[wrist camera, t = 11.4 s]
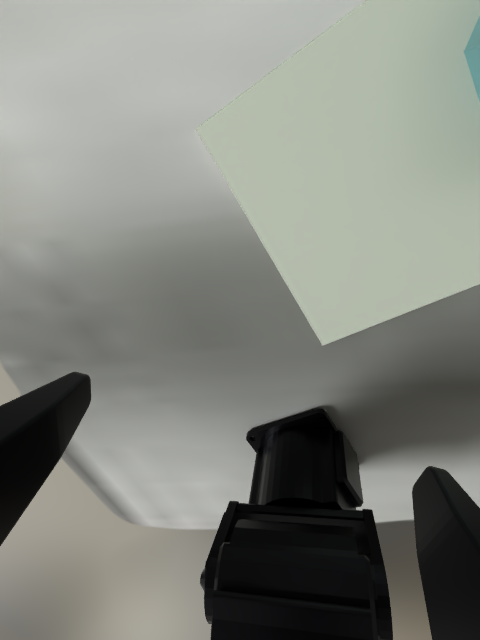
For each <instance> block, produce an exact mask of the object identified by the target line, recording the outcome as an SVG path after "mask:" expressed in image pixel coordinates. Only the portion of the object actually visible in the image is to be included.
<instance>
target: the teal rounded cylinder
mask: <svg viewBox="0 0 480 640" xmlns="http://www.w3.org/2000/svg"><path fill="white" fill-rule="evenodd" d="M463 53H464V54H465V57H466V60H467V63H468V67H469V70H470V73H471V76H472V79H473V83H474V86H475V89H476V92H477V95H478V99H479V102H480V16H479V18H478V20H477V23H476V25H475V27H474V30H473V32H472V34H471V36H470V39H469V41H468V43H467V46H466V48H465V50H464V52H463Z"/></svg>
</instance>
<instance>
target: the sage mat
mask: <svg viewBox="0 0 480 640" xmlns="http://www.w3.org/2000/svg"><path fill="white" fill-rule="evenodd" d="M479 16H480V0H366V1H365V2H364V3H362V4H361V5H360V6H358V7H357V8H356V9H354V10H353V11H352V12H350V13H349V14H348V15H346V16H345V17H344V18H342V19H341V20H340V21H338V22H337V23H336V24H334V25H333V26H332V27H330V28H329V29H328V30H326V31H325V32H324V33H322V34H321V35H320V36H318V37H317V38H316V39H315V40H313V41H312V42H311V43H309V44H308V45H307V46H305V47H304V48H303V49H301V50H300V51H299V52H297V53H296V54H295V55H293V56H292V57H291V58H289V59H288V60H287V61H285V62H284V63H283V64H281V65H280V66H279V67H277V68H276V69H275V70H273V71H272V72H271V73H269V74H268V75H267V76H265V77H264V78H263V79H261V80H260V81H259V82H258V83H256V84H255V85H254V86H252V87H251V88H250V89H248V90H247V91H246V92H244V93H243V94H242V95H240V96H239V97H238V98H236V99H235V100H234V101H232V102H231V103H230V104H228V105H227V106H226V107H224V108H223V109H222V110H220V111H219V112H218V113H216V114H215V115H214V116H212V117H211V118H210V119H208V120H207V121H206V122H204V123H203V124H202V125H201V126H199V127H198V128H197V129H195V130H196V131H197V133H198V135H199V136H200V138H201V140H202V141H203V143H204V145H205V147H206V148H207V150H208V152H209V153H210V155H211V157H212V158H213V160H214V162H215V164H216V165H217V167H218V169H219V170H220V172H221V174H222V175H223V177H224V179H225V181H226V182H227V184H228V186H229V187H230V189H231V191H232V192H233V194H234V196H235V198H236V199H237V201H238V203H239V204H240V206H241V208H242V209H243V211H244V213H245V215H246V216H247V218H248V220H249V221H250V223H251V225H252V226H253V228H254V230H255V232H256V233H257V235H258V237H259V238H260V240H261V242H262V243H263V245H264V247H265V249H266V250H267V252H268V254H269V255H270V257H271V259H272V260H273V262H274V264H275V266H276V267H277V269H278V271H279V272H280V274H281V276H282V277H283V279H284V281H285V283H286V284H287V286H288V288H289V289H290V291H291V293H292V294H293V296H294V298H295V300H296V301H297V303H298V305H299V306H300V308H301V310H302V311H303V313H304V315H305V317H306V318H307V320H308V322H309V323H310V325H311V327H312V328H313V330H314V332H315V334H316V335H317V337H318V339H319V340H320V342H321V344H322V345H325V344H328V343H330V342H333V341H336V340H338V339H341V338H343V337H346V336H348V335H351V334H353V333H356V332H358V331H361V330H364V329H366V328H369V327H371V326H374V325H376V324H379V323H381V322H384V321H386V320H389V319H392V318H394V317H397V316H399V315H402V314H404V313H407V312H409V311H412V310H414V309H417V308H420V307H422V306H425V305H427V304H430V303H432V302H435V301H437V300H440V299H442V298H445V297H448V296H450V295H453V294H455V293H458V292H460V291H463V290H465V289H468V288H470V287H473V286H476V285H478V284H480V102H479V99H478V95H477V92H476V89H475V86H474V83H473V79H472V76H471V73H470V70H469V67H468V63H467V60H466V57H465V54H464V53H463V52H464V50H465V48H466V46H467V43H468V41H469V39H470V36H471V34H472V32H473V30H474V27H475V25H476V23H477V20H478V18H479Z"/></svg>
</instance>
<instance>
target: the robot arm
mask: <svg viewBox="0 0 480 640" xmlns="http://www.w3.org/2000/svg"><path fill="white" fill-rule="evenodd" d="M90 401H91V381H90V377H89V376H88V375H86V374H82V373H79V372H72V373H70V374H67V375H65V376H63V377H61V378H59V379H57V380H55V381H53V382H50V383H48V384H46V385H44V386H42V387H40V388H38V389H35V390H33V391H31V392H29V393H27V394H25V395H23V396H20V397H18V398H16V399H14V400H12V401H10V402H8V403H5V404H3V405H1V406H0V546H1V544H2V543H3V542H4V540H5V539H6V537H7V536H8V534H9V533H10V531H11V530H12V528H13V527H14V525H15V524H16V523H17V521H18V520H19V518H20V517H21V515H22V514H23V512H24V511H25V509H26V508H27V507H28V505H29V504H30V502H31V501H32V499H33V498H34V496H35V495H36V493H37V492H38V490H39V489H40V488H41V486H42V485H43V483H44V482H45V480H46V479H47V477H48V476H49V474H50V473H51V471H52V470H53V469H54V467H55V465H56V464H57V462H58V461H59V460H60V458H61V456H62V455H63V453H64V451H65V449H66V448H67V446H68V444H69V442H70V440H71V438H72V436H73V435H74V433H75V431H76V429H77V427H78V425H79V423H80V422H81V420H82V418H83V416H84V414H85V412H86V410H87V409H88V407H89V404H90ZM318 416H322V417H318ZM246 439H247V441H248V443H249V444H250V445H251V446H252V448H253V449H254V450H255V452H256V453H257V454H256V460H255V466H254V473H253V479H252V485H251V492H250V498H249V504H245V503H239V502H238V501H230V502H229V504H228V507H227V510H226V512H224V515H223V517H222V520H221V523H220V526H219V528H218V531H217V534H216V536H215V539H214V542H213V545H212V547H211V550H210V553H209V555H208V558H207V561H206V565H205V569H204V570H203V572H202V574H201V578H200V584H201V586H202V588H203V590H204V592H205V595H204V608H205V616H206V619H207V622H208V623H209V624H212V626H211V627H212V628H211V640H393V631H392V617H391V607H390V598H389V591H388V584H387V578H386V572H385V567H384V562H383V558H382V553H381V549H380V544H379V539H378V535H377V531H376V526H375V521H374V516H373V512H372V510H370V509H362V511H359V510H356V507H361V506H362V504H363V497H362V489H361V482H360V475H359V463H358V460H357V454H356V452H355V451H354V449H353V447H352V446H351V444H350V443H349V441H348V440H347V438H346V436H345V435H344V433H343V432H342V431H340V430H337V428H336V427H335V425H334V424H333V422H332V421H331V419H330V417H329V416H328V414H327V413H326V412H325V411H324V410H322V409H316V410H313V411H309V412H306V413H303V414H300V415H297V416H294V417H291V418H288V419H285V420H281V421H278V422H275V423H272V424H269V425H266V426H263V427H260V428H257V429H253V430H250V431H248V433H247V436H246ZM412 497H413V510H414V522H415V535H416V548H417V556H418V563H419V569H420V574H421V580H422V585H423V591H424V595H425V601H426V607H427V612H428V618H429V623H430V629H431V635H432V640H480V508H479V507H478V506H477V505H476V503H475V502H474V501H473V500H472V499H471V498H470V497H469V495H468V494H467V493H466V492H465V491H464V490H463V489H462V487H461V486H460V485H459V484H458V483H457V482H456V481H455V479H454V478H453V477H452V476H451V475H450V474H449V473H448V472H447V471H446V470H444V469H440V468H436V467H433V466H429V467H427V468H426V469H425V470H424V472H423V473H422V474H421V476H420V477H419V479H418V480H417V481H416V483H415V484H414V486H413V491H412Z"/></svg>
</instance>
